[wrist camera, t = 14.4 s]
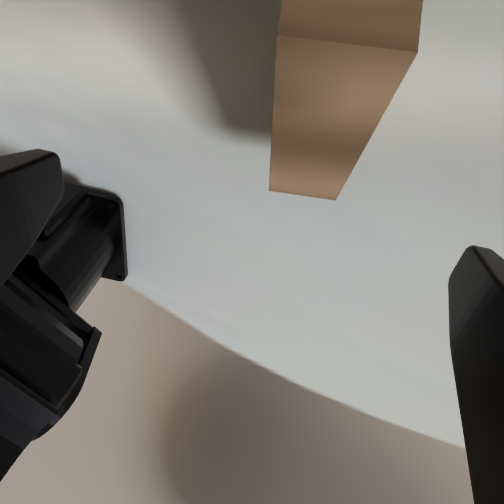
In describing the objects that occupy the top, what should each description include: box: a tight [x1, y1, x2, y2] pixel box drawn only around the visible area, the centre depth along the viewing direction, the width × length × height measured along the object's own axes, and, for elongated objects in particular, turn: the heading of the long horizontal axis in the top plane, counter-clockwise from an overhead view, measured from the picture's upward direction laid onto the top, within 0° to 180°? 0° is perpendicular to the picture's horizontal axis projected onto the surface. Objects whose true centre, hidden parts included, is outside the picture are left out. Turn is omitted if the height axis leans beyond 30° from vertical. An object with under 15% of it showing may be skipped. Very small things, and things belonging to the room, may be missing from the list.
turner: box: [269, 0, 423, 200], centre depth 11 cm, size 16×6×4 cm
